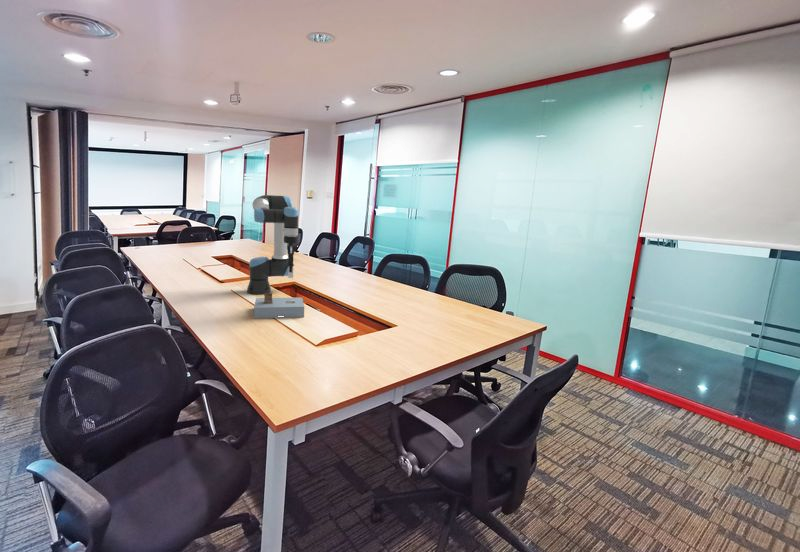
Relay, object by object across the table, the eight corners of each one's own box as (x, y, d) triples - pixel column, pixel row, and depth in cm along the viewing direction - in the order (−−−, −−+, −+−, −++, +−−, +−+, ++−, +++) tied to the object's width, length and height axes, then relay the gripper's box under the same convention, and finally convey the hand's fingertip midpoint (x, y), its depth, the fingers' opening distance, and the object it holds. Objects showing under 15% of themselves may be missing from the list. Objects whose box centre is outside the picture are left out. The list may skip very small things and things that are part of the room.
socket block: (256, 308, 231) (256, 298, 229) (302, 307, 238) (302, 297, 237) (254, 318, 212) (254, 307, 211) (304, 317, 219) (304, 306, 218)
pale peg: (286, 310, 228) (286, 300, 227) (294, 310, 229) (294, 300, 228) (286, 312, 224) (286, 302, 223) (294, 312, 225) (294, 302, 224)
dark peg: (264, 303, 224) (264, 292, 222) (272, 303, 225) (272, 292, 224) (264, 305, 220) (264, 294, 219) (272, 305, 221) (272, 294, 220)
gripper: (283, 234, 223) (283, 275, 228) (284, 236, 211) (283, 280, 216) (297, 234, 225) (296, 275, 230) (298, 237, 213) (298, 280, 218)
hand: (290, 277), depth 223 cm, fingers closed
